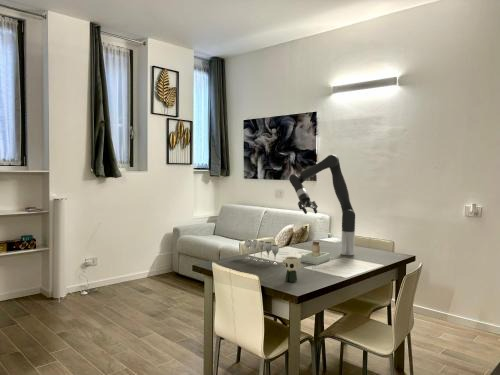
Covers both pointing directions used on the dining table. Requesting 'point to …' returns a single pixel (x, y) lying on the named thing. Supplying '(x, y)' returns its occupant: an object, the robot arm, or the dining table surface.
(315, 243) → the pepper mill
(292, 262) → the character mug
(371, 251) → the dining table surface
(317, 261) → the bin
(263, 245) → the goblet set
